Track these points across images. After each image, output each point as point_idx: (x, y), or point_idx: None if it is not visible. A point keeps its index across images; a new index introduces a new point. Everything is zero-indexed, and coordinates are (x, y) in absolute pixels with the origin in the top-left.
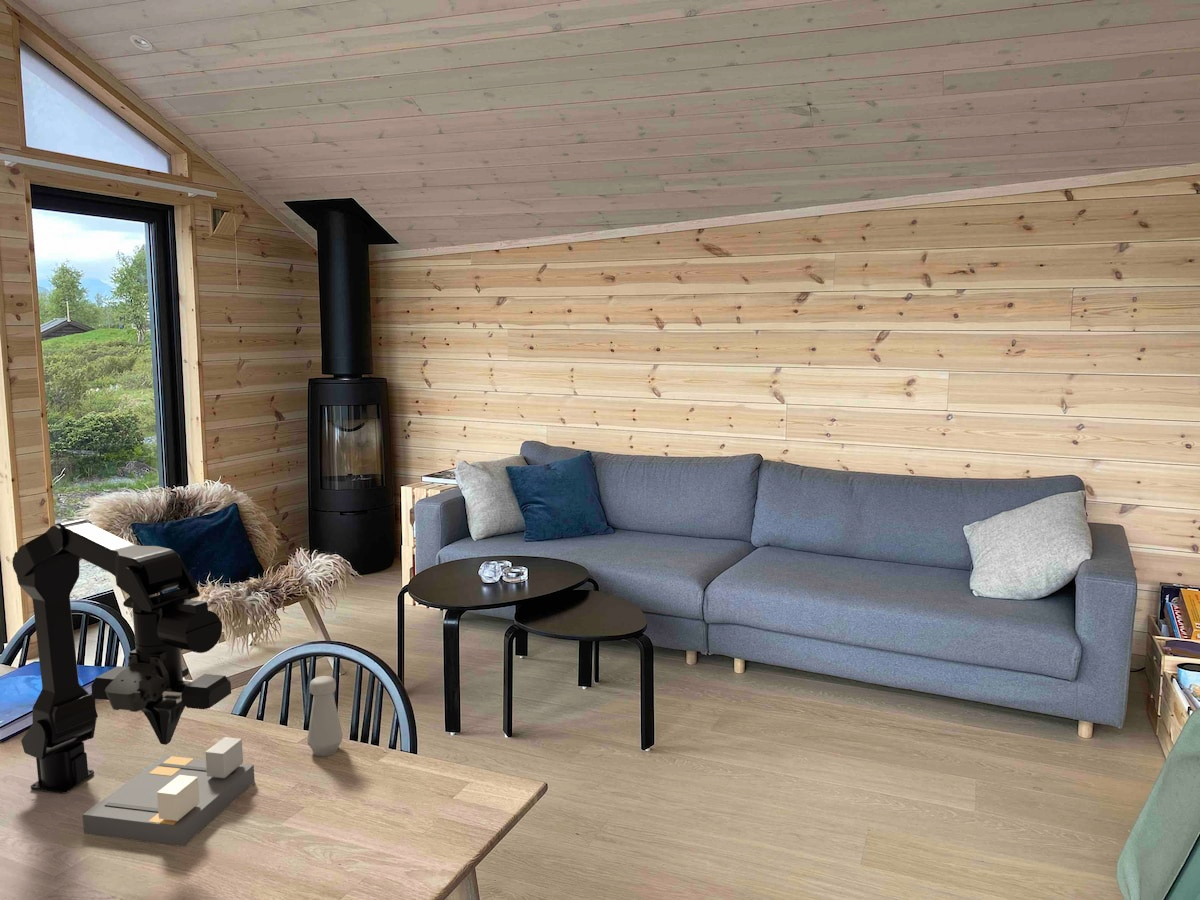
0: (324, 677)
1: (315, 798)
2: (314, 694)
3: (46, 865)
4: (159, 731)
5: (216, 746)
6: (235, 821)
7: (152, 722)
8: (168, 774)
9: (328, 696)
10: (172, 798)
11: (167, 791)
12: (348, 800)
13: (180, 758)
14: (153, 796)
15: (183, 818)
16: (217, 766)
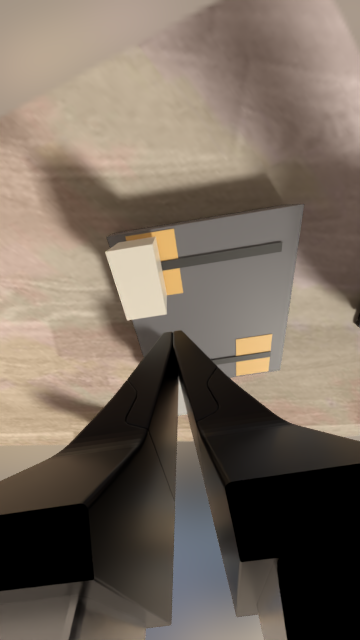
0: None
1: (64, 371)
2: None
3: (289, 88)
4: (176, 354)
5: (182, 394)
6: (105, 307)
7: (207, 376)
8: (242, 340)
9: None
10: (117, 248)
11: (134, 256)
12: (28, 379)
13: (253, 371)
14: (222, 291)
15: None
16: None
